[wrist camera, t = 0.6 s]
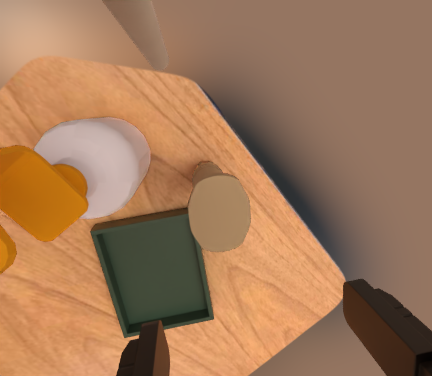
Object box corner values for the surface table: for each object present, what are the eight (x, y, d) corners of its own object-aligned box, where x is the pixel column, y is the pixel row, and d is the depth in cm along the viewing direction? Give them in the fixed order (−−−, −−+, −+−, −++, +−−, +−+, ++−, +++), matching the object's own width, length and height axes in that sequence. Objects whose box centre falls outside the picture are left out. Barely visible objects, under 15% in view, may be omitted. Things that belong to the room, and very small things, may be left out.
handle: (222, 146, 34) (248, 172, 20) (225, 193, 36) (252, 248, 22) (184, 150, 34) (184, 179, 19) (190, 197, 36) (193, 255, 21)
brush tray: (95, 223, 35) (90, 231, 33) (193, 206, 36) (194, 212, 34) (127, 325, 40) (124, 338, 38) (212, 308, 41) (214, 319, 39)
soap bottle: (114, 202, 35) (-33, 395, 11) (59, 149, 32) (-284, 255, 9) (166, 159, 34) (123, 269, 10) (113, 100, 31) (-101, 71, 8)
